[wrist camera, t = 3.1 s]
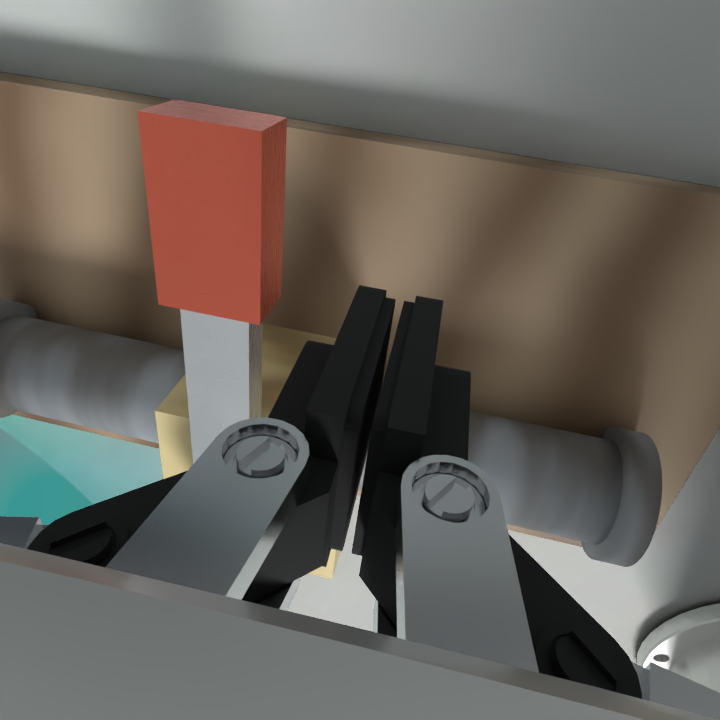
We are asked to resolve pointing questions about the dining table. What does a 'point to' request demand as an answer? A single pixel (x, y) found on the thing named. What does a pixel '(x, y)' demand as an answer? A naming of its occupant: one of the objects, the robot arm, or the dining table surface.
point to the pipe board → (402, 282)
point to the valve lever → (216, 247)
